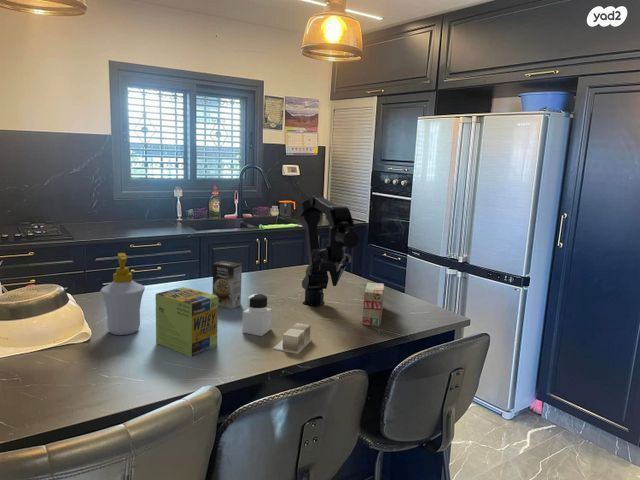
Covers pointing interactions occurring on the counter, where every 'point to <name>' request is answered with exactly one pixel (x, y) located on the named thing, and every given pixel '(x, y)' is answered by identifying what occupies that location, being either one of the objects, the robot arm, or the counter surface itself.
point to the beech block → (296, 337)
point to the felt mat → (280, 347)
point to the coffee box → (227, 283)
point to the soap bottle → (123, 300)
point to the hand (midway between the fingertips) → (334, 285)
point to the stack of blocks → (373, 304)
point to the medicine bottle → (257, 316)
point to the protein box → (186, 320)
